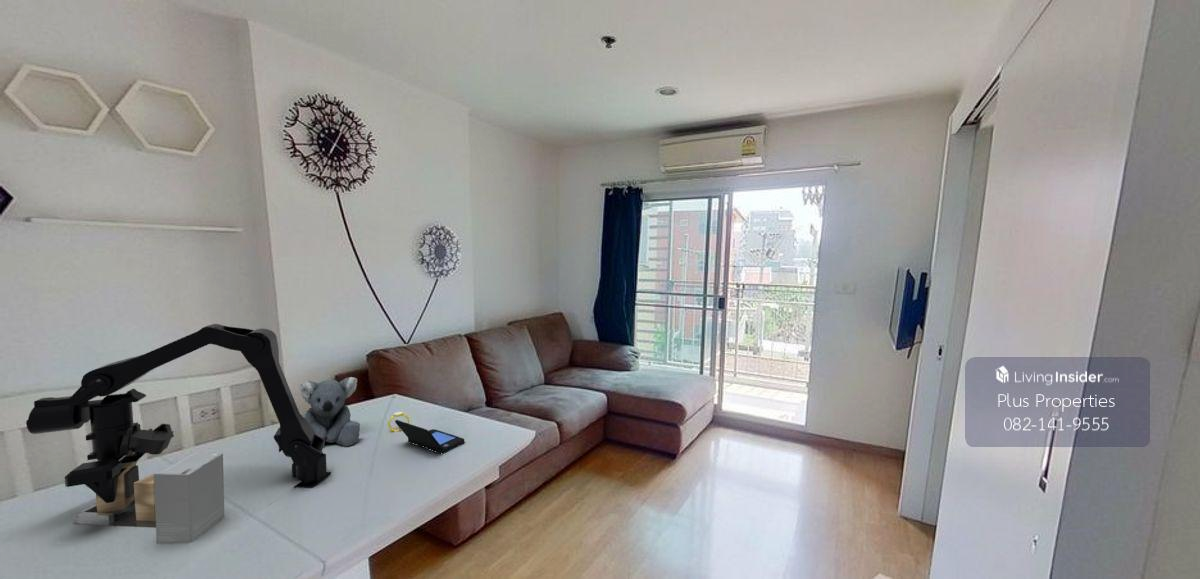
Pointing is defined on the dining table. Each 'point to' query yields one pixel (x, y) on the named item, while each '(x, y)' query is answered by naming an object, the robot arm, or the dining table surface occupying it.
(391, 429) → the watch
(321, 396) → the koala plush
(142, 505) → the block
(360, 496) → the dining table surface
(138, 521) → the rail
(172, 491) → the skincare box
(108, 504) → the block
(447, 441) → the game console
